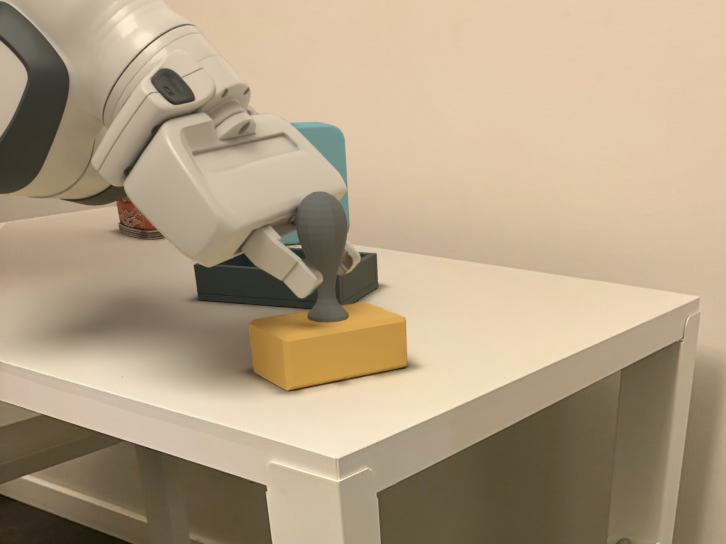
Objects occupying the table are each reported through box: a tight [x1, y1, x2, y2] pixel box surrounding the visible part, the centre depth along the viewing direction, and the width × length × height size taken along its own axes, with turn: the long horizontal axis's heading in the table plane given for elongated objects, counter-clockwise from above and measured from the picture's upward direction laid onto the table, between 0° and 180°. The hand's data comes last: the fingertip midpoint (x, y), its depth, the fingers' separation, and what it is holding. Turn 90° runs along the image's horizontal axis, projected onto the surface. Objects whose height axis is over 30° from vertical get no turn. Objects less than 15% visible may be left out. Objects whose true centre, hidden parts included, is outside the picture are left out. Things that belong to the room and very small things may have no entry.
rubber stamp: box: [248, 191, 408, 392], centre depth 69 cm, size 10×6×12 cm, turn 127°
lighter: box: [115, 195, 165, 240], centre depth 114 cm, size 8×3×10 cm, turn 43°
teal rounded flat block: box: [280, 121, 351, 246], centre depth 111 cm, size 12×4×12 cm, turn 119°
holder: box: [193, 246, 379, 310], centre depth 91 cm, size 10×14×3 cm
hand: (333, 278), depth 69 cm, fingers open, 6 cm apart
